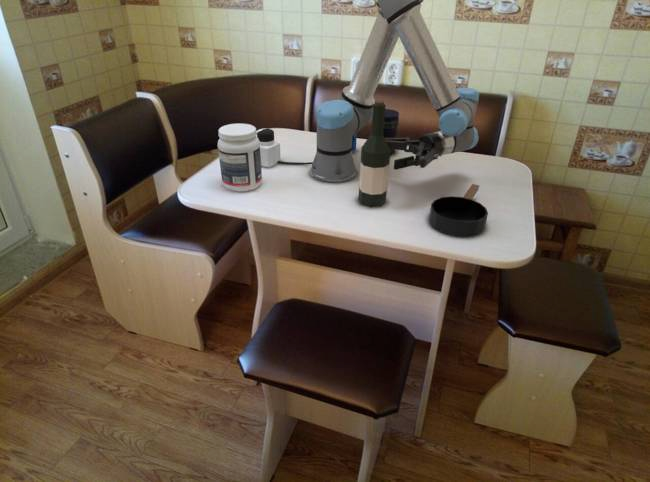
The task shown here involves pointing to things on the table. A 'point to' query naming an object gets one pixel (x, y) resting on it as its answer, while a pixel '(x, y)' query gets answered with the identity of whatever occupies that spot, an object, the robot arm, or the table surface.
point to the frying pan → (459, 214)
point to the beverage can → (354, 142)
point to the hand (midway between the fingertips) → (380, 156)
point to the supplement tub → (239, 157)
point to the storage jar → (390, 125)
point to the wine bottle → (374, 162)
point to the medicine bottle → (268, 148)
